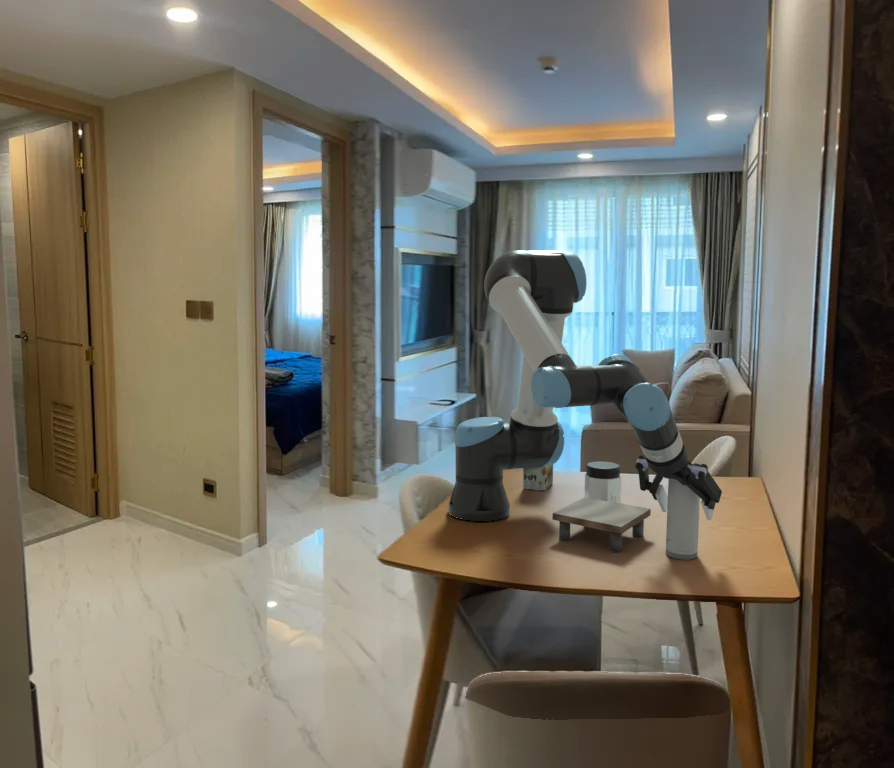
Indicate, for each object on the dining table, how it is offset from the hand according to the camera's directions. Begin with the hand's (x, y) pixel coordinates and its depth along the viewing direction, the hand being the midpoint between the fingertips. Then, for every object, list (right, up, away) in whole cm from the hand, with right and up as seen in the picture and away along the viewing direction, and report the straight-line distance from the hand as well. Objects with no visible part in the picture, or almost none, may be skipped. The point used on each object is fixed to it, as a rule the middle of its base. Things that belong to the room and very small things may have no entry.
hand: (687, 510), depth 150 cm
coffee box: (-25, -3, +53) cm, 58 cm away
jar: (-12, -6, +28) cm, 31 cm away
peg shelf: (-16, -8, +10) cm, 20 cm away
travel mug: (-2, -9, -1) cm, 9 cm away
